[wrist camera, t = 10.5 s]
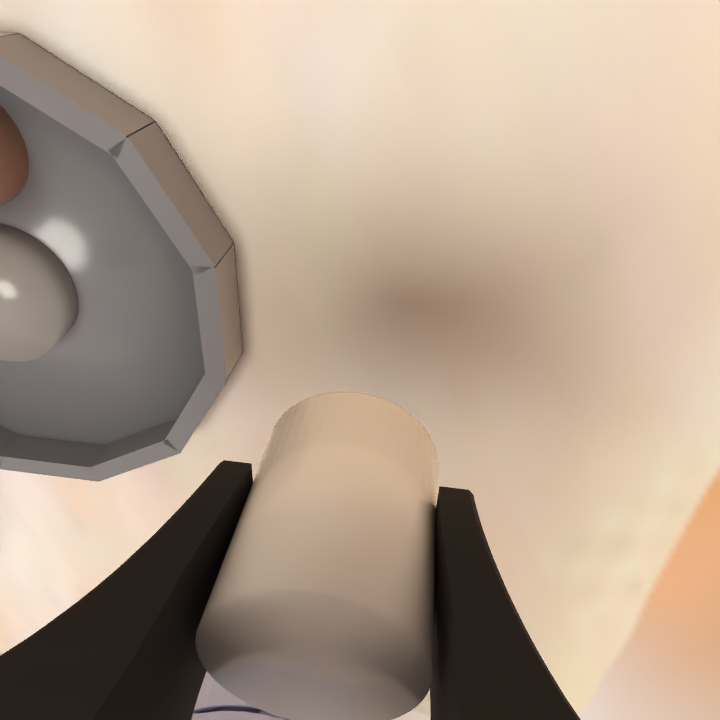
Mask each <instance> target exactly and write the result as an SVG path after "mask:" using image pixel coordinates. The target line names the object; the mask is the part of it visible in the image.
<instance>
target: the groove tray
mask: <svg viewBox="0 0 720 720" xmlns="http://www.w3.org/2000/svg"><path fill="white" fill-rule="evenodd" d="M0 105H1V106H2V107H3V108H4V109H5V111H6V112H7V113H8V114H9V115H10V117H11V118H12V120H13V121H14V123H15V124H16V126H17V127H18V129H19V131H20V133H21V135H22V137H23V140H24V142H25V145H26V148H27V153H28V158H29V173H28V178H27V181H26V184H25V186H24V188H23V189H22V191H21V192H20V193H19V194H18V195H17V196H16V197H14V198H13V199H12V200H10V201H8V202H6V203H4V204H2V205H1V206H0V469H4V470H12V471H19V472H27V473H35V474H43V475H51V476H59V477H67V478H75V479H83V480H91V481H102V480H104V479H107V478H110V477H113V476H116V475H119V474H122V473H125V472H127V471H130V470H133V469H136V468H139V467H142V466H145V465H147V464H150V463H153V462H156V461H159V460H162V459H165V458H167V457H170V456H173V455H176V454H179V453H181V451H182V450H183V448H184V446H185V445H186V443H187V442H188V440H189V439H190V437H191V436H192V434H193V432H194V431H195V429H196V428H197V426H198V425H199V423H200V422H201V420H202V418H203V417H204V415H205V414H206V412H207V411H208V409H209V408H210V406H211V404H212V403H213V401H214V400H215V398H216V397H217V395H218V394H219V392H220V390H221V389H222V387H223V386H224V384H225V383H226V381H227V379H228V377H229V375H230V374H231V372H232V370H233V368H234V366H235V364H236V362H237V360H238V359H239V357H240V355H241V353H242V339H241V326H240V314H239V301H238V289H237V276H236V264H235V251H234V244H233V241H232V239H231V238H230V236H229V235H228V233H227V232H226V230H225V229H224V227H223V225H222V224H221V222H220V221H219V219H218V218H217V216H216V215H215V213H214V211H213V210H212V208H211V207H210V205H209V204H208V202H207V201H206V199H205V198H204V196H203V194H202V193H201V191H200V190H199V188H198V187H197V185H196V184H195V182H194V180H193V179H192V177H191V176H190V174H189V173H188V171H187V170H186V168H185V167H184V165H183V163H182V162H181V160H180V159H179V157H178V156H177V154H176V153H175V151H174V149H173V148H172V146H171V145H170V143H169V142H168V140H167V139H166V137H165V136H164V134H163V132H162V131H161V129H160V128H159V126H158V125H157V123H156V122H155V123H154V120H153V119H151V118H150V117H148V116H147V115H145V114H143V113H142V112H140V111H139V110H137V109H136V108H134V107H133V106H131V105H130V104H128V103H126V102H125V101H123V100H122V99H120V98H119V97H117V96H116V95H114V94H113V93H111V92H109V91H108V90H106V89H105V88H103V87H102V86H100V85H99V84H97V83H95V82H94V81H92V80H91V79H89V78H88V77H86V76H85V75H83V74H82V73H80V72H78V71H77V70H75V69H74V68H72V67H71V66H69V65H68V64H66V63H65V62H63V61H61V60H60V59H58V58H57V57H55V56H54V55H52V54H51V53H49V52H48V51H46V50H44V49H43V48H41V47H40V46H38V45H37V44H35V43H34V42H32V41H31V40H29V39H27V38H26V37H24V36H23V35H21V34H18V33H9V32H0Z"/></svg>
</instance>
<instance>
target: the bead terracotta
mask: <svg viewBox="0 0 720 720" xmlns="http://www.w3.org/2000/svg"><path fill="white" fill-rule="evenodd" d="M28 173H29V158H28V153H27V148H26V145H25V142H24V140H23V137H22V135H21V133H20V131H19V129H18V127H17V126H16V124H15V123H14V121H13V120H12V118H11V117H10V115H9V114H8V113H7V112H6V111H5V109H4V108H3V107H2V106H1V105H0V206H1V205H2V204H4V203H6V202H8V201H10V200H12V199H13V198H14V197H16V196H17V195H18V194H19V193H20V192H21V191H22V189H23V188H24V186H25V184H26V181H27V178H28Z"/></svg>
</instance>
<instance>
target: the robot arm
mask: <svg viewBox="0 0 720 720" xmlns="http://www.w3.org/2000/svg"><path fill="white" fill-rule="evenodd" d="M252 484H253V478H252V465H251V464H250V463H241V462H233V461H225V460H224V461H222V462H221V463H220V464H219V465H218V466H217V467H216V468H215V469H214V471H213V472H212V473H211V474H210V475H209V476H208V477H207V479H206V480H205V481H204V482H203V483H202V484H201V485H200V487H199V488H198V489H197V490H196V491H195V492H194V493H193V494H192V495H191V497H190V498H189V499H188V500H187V501H186V502H185V503H184V504H183V505H182V506H181V507H180V508H179V510H178V511H177V512H176V513H175V514H174V515H173V516H172V517H171V518H170V519H169V520H168V521H167V522H166V523H165V524H164V525H163V526H162V527H161V528H160V529H159V530H158V531H157V532H156V533H155V534H154V535H153V536H152V537H151V538H150V539H149V540H148V541H147V542H146V543H145V544H144V545H143V546H141V547H140V548H139V549H138V550H137V551H136V552H135V553H134V554H133V555H132V556H131V557H130V558H129V559H128V560H127V561H125V562H124V563H123V564H122V565H121V566H120V567H119V568H118V569H117V570H115V571H114V572H113V573H112V574H111V575H110V576H108V577H107V578H106V579H105V580H104V581H103V582H101V583H100V584H99V585H98V586H97V587H95V588H94V589H93V590H92V591H90V592H89V593H88V594H87V595H85V596H84V597H83V598H82V599H80V600H79V601H78V602H77V603H75V604H74V605H73V606H71V607H70V608H69V609H67V610H66V611H65V612H63V613H62V614H60V615H59V616H58V617H56V618H55V619H54V620H52V621H51V622H50V623H48V624H47V625H46V626H44V627H43V628H41V629H40V630H39V631H37V632H36V633H34V634H33V635H31V636H30V637H28V638H27V639H26V640H24V641H23V642H21V643H19V644H18V645H16V646H15V647H13V648H12V649H10V650H9V651H7V652H5V653H4V654H2V655H1V656H0V720H289V719H285V718H282V717H279V716H276V715H273V714H270V713H268V712H265V711H263V710H260V709H258V708H256V707H254V706H252V705H250V704H248V703H246V702H244V701H242V700H241V699H239V698H237V697H235V696H234V695H233V694H231V693H230V692H228V691H227V690H226V689H224V688H223V687H222V686H221V685H220V684H219V683H217V682H216V681H215V680H214V679H213V677H212V676H211V675H210V674H209V673H208V672H207V670H206V669H205V667H204V666H203V664H202V662H201V660H200V658H199V656H198V653H197V650H196V641H195V639H196V632H197V629H198V626H199V623H200V621H201V618H202V616H203V613H204V610H205V608H206V605H207V602H208V600H209V597H210V595H211V592H212V589H213V587H214V584H215V581H216V579H217V576H218V573H219V571H220V568H221V566H222V563H223V560H224V558H225V555H226V552H227V550H228V547H229V545H230V542H231V539H232V537H233V534H234V531H235V529H236V526H237V523H238V521H239V518H240V516H241V513H242V510H243V508H244V505H245V502H246V500H247V497H248V495H249V492H250V489H251V487H252ZM430 700H431V720H580V718H579V717H578V715H577V714H576V712H575V711H574V709H573V708H572V706H571V705H570V703H569V702H568V700H567V699H566V697H565V696H564V694H563V693H562V691H561V689H560V688H559V686H558V684H557V683H556V681H555V680H554V678H553V676H552V675H551V673H550V671H549V670H548V668H547V666H546V665H545V663H544V661H543V659H542V658H541V656H540V654H539V652H538V651H537V649H536V647H535V645H534V643H533V642H532V640H531V638H530V636H529V634H528V632H527V630H526V628H525V626H524V624H523V623H522V620H521V618H520V616H519V614H518V612H517V610H516V608H515V606H514V604H513V602H512V600H511V598H510V596H509V594H508V591H507V589H506V587H505V585H504V582H503V580H502V578H501V575H500V573H499V570H498V568H497V566H496V563H495V561H494V559H493V556H492V553H491V551H490V548H489V546H488V543H487V540H486V537H485V534H484V532H483V529H482V525H481V522H480V519H479V516H478V512H477V509H476V505H475V501H474V496H473V494H472V493H471V492H470V491H469V490H465V489H456V488H448V487H439V493H438V500H437V506H436V531H435V583H434V618H433V654H432V680H431V685H430Z"/></svg>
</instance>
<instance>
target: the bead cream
mask: <svg viewBox="0 0 720 720" xmlns="http://www.w3.org/2000/svg"><path fill="white" fill-rule="evenodd" d="M437 475H438V459H437V453H436V449H435V446H434V443H433V441H432V439H431V437H430V436H429V434H428V433H427V431H426V430H425V428H424V427H423V426H422V425H421V424H420V423H419V422H418V421H417V420H416V419H415V418H414V417H413V416H412V415H410V414H409V413H408V412H406V411H405V410H403V409H402V408H400V407H398V406H396V405H394V404H393V403H391V402H388V401H386V400H383V399H381V398H378V397H374V396H370V395H366V394H360V393H350V392H337V393H327V394H321V395H318V396H314V397H311V398H308V399H306V400H304V401H301V402H299V403H298V404H296V405H294V406H293V407H291V408H290V409H289V410H288V411H287V412H285V413H284V414H283V416H282V417H281V418H280V419H279V420H278V422H277V423H276V425H275V427H274V429H273V432H272V434H271V437H270V439H269V442H268V445H267V447H266V450H265V452H264V455H263V458H262V460H261V463H260V466H259V468H258V471H257V473H256V476H255V479H254V481H253V484H252V487H251V489H250V492H249V495H248V497H247V500H246V502H245V505H244V508H243V510H242V513H241V516H240V518H239V521H238V523H237V526H236V529H235V531H234V534H233V537H232V539H231V542H230V545H229V547H228V550H227V552H226V555H225V558H224V560H223V563H222V566H221V568H220V571H219V573H218V576H217V579H216V581H215V584H214V587H213V589H212V592H211V595H210V597H209V600H208V602H207V605H206V608H205V610H204V613H203V616H202V618H201V621H200V623H199V626H198V629H197V632H196V639H195V641H196V650H197V653H198V656H199V658H200V660H201V662H202V664H203V666H204V667H205V669H206V670H207V672H208V673H209V674H210V675H211V676H212V677H213V679H214V680H215V681H216V682H217V683H219V684H220V685H221V686H222V687H223V688H224V689H226V690H227V691H228V692H230V693H231V694H233V695H234V696H235V697H237V698H239V699H241V700H242V701H244V702H246V703H248V704H250V705H252V706H254V707H256V708H258V709H260V710H263V711H265V712H268V713H270V714H273V715H276V716H279V717H282V718H285V719H289V720H392V719H395V718H397V717H400V716H401V715H404V714H405V713H407V712H409V711H411V710H412V709H413V708H415V707H416V706H417V705H418V704H419V703H420V702H421V701H422V700H423V699H424V698H425V696H426V694H427V693H428V691H429V688H430V685H431V680H432V654H433V618H434V583H435V531H436V506H437Z"/></svg>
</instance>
